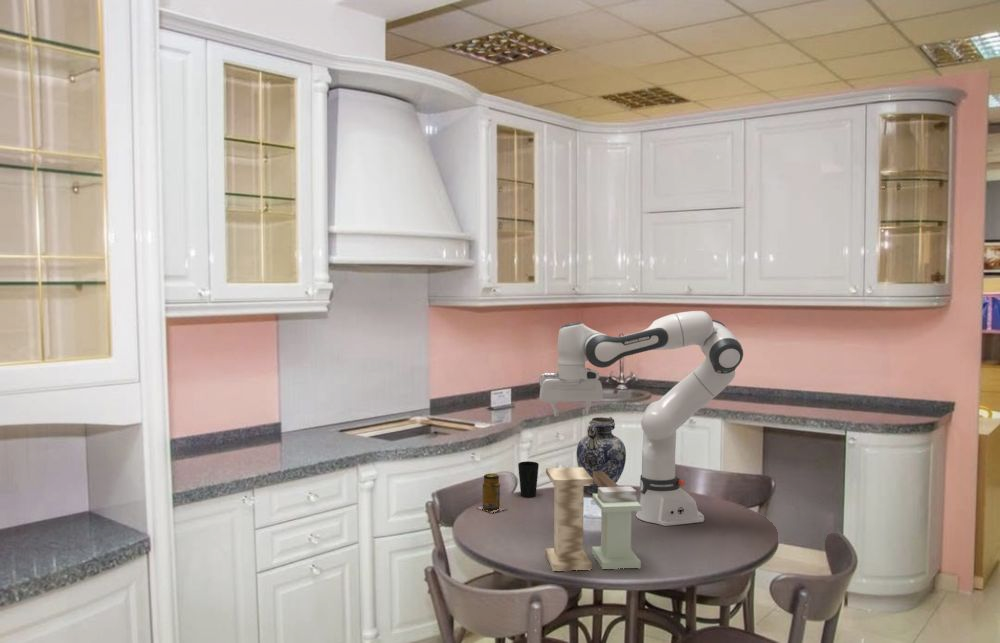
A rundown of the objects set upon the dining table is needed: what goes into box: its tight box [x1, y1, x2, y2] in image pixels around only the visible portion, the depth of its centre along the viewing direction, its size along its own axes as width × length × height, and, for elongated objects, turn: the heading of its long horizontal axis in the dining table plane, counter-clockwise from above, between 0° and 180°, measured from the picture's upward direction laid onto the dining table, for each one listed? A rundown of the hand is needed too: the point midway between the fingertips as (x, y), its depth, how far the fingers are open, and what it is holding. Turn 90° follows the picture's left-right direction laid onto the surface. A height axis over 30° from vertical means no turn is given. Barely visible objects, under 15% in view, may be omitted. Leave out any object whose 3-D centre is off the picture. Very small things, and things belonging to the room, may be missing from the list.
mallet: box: [593, 471, 637, 503], centre depth 235 cm, size 10×23×3 cm, turn 9°
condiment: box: [477, 473, 501, 514], centre depth 276 cm, size 7×8×12 cm
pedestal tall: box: [545, 466, 593, 572], centre depth 225 cm, size 11×13×26 cm
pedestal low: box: [591, 494, 642, 570], centre depth 227 cm, size 11×13×18 cm
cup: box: [517, 461, 540, 499], centre depth 292 cm, size 8×8×12 cm
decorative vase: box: [576, 416, 627, 496], centre depth 297 cm, size 21×19×28 cm
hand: (570, 415), depth 253 cm, fingers open, 8 cm apart
